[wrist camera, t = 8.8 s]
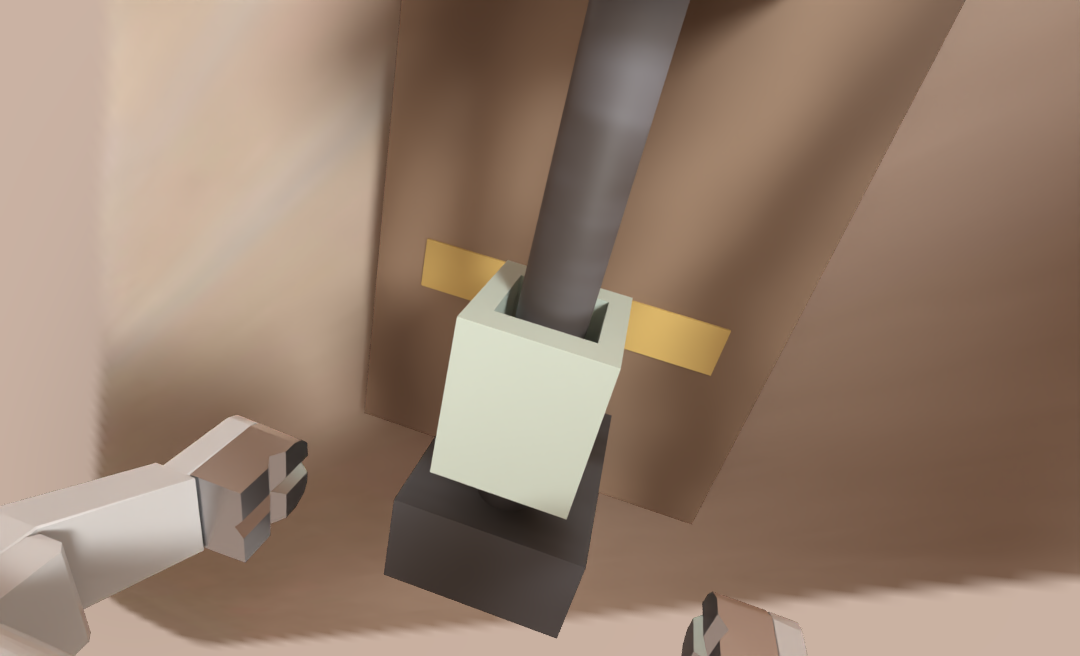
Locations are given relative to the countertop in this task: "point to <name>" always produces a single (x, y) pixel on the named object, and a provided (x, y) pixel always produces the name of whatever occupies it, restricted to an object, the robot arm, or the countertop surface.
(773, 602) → the countertop surface
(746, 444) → the countertop surface
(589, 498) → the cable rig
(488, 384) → the sleeve
